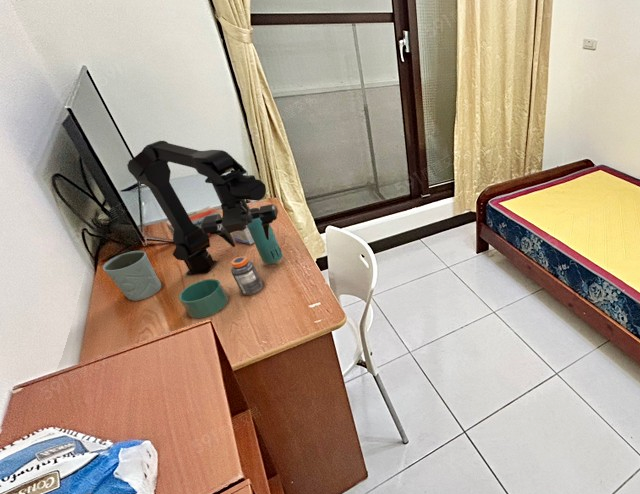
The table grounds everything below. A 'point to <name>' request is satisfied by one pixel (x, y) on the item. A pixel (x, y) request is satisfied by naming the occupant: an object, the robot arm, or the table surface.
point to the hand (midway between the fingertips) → (251, 242)
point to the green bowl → (203, 298)
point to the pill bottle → (246, 276)
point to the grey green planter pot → (133, 275)
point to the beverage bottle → (264, 241)
